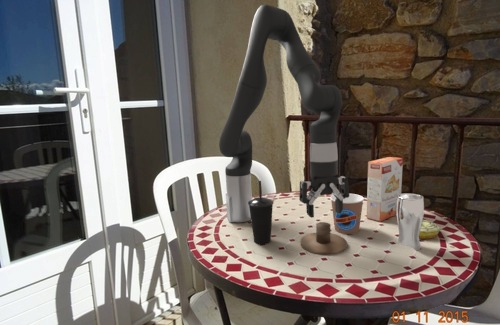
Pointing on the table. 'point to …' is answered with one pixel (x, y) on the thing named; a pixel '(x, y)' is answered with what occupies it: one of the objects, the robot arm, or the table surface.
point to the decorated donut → (428, 230)
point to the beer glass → (409, 219)
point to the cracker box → (383, 187)
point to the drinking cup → (261, 218)
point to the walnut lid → (323, 241)
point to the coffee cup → (348, 214)
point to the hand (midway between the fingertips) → (324, 214)
